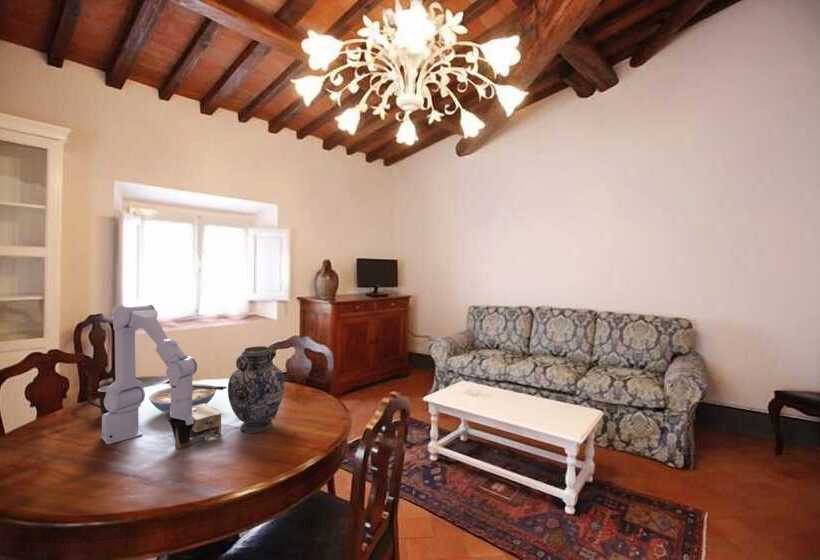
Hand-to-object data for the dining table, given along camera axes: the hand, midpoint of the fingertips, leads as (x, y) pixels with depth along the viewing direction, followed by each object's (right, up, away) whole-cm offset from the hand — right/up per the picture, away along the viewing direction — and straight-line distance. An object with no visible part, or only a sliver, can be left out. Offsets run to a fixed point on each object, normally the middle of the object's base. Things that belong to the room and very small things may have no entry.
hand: (181, 441), depth 118 cm
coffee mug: (-43, -1, +26) cm, 50 cm away
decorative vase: (+17, -2, +17) cm, 24 cm away
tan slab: (-1, -2, +12) cm, 12 cm away
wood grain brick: (+2, -2, +5) cm, 6 cm away
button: (+6, -2, +6) cm, 9 cm away
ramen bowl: (-17, -1, +30) cm, 34 cm away
